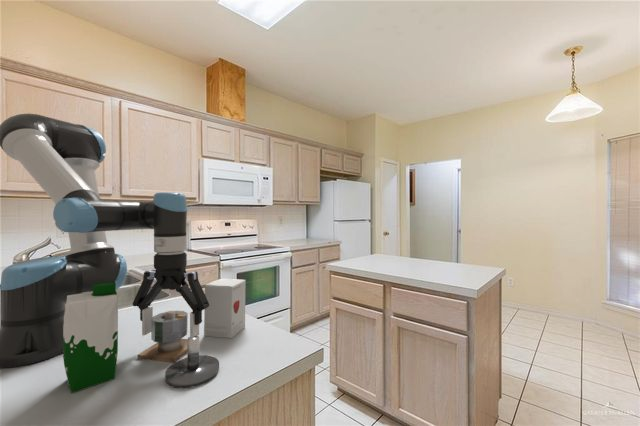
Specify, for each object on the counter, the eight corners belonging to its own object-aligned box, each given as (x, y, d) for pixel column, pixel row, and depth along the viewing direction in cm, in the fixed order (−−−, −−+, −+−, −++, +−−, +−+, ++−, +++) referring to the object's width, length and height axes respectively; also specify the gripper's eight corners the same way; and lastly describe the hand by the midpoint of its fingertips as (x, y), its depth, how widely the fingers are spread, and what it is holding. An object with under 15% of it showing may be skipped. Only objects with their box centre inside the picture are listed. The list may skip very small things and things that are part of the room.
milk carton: (120, 378, 61) (121, 285, 61) (64, 397, 55) (65, 294, 55) (113, 363, 67) (113, 278, 67) (61, 378, 61) (62, 285, 61)
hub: (152, 384, 59) (153, 347, 59) (186, 358, 70) (186, 326, 70) (201, 391, 57) (201, 352, 57) (228, 362, 68) (228, 330, 68)
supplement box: (231, 339, 81) (232, 286, 81) (203, 336, 82) (203, 284, 82) (246, 326, 89) (246, 279, 89) (220, 324, 91) (220, 277, 91)
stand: (137, 358, 69) (137, 317, 69) (166, 340, 79) (166, 304, 79) (174, 362, 68) (174, 320, 68) (198, 343, 78) (199, 307, 78)
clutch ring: (144, 341, 70) (144, 319, 70) (166, 328, 78) (167, 308, 78) (173, 343, 69) (173, 321, 69) (193, 330, 77) (193, 310, 77)
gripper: (116, 253, 72) (116, 337, 72) (206, 255, 68) (206, 345, 68) (139, 249, 79) (139, 326, 79) (222, 251, 75) (222, 332, 75)
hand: (170, 335), depth 73 cm, fingers open, 13 cm apart
